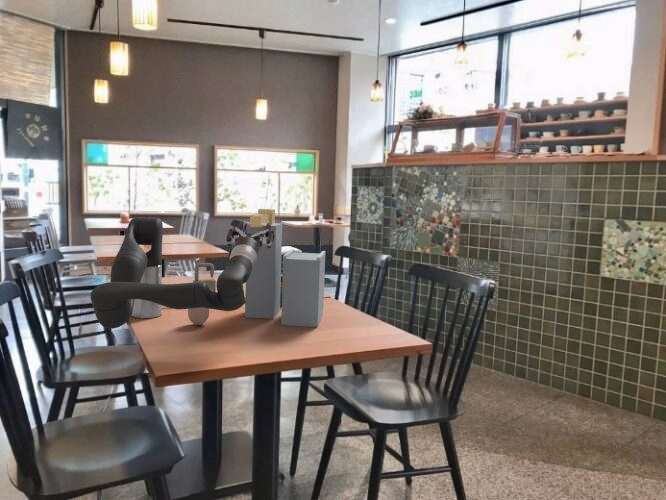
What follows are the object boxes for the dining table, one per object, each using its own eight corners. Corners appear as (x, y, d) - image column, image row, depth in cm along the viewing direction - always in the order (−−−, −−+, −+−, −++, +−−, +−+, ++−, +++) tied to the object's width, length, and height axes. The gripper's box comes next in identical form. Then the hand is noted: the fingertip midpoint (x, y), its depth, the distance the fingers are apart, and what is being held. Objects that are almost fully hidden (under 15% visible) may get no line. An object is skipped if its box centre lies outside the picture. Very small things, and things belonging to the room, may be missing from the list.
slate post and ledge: (317, 327, 178) (321, 229, 174) (239, 322, 180) (241, 226, 176) (323, 313, 197) (326, 225, 194) (252, 309, 199) (254, 222, 196)
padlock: (216, 301, 210) (216, 263, 208) (195, 303, 206) (195, 264, 204) (212, 299, 214) (213, 261, 212) (192, 301, 210) (192, 262, 208)
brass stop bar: (263, 227, 174) (263, 211, 174) (247, 226, 175) (248, 211, 174) (274, 223, 194) (275, 209, 194) (260, 222, 195) (261, 208, 194)
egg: (188, 328, 171) (188, 299, 170) (187, 322, 178) (187, 295, 177) (209, 327, 173) (209, 299, 172) (208, 322, 179) (208, 294, 178)
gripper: (266, 246, 159) (276, 216, 172) (218, 244, 160) (231, 214, 173) (268, 266, 163) (277, 235, 176) (222, 264, 164) (234, 233, 177)
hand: (255, 225), depth 174 cm, fingers open, 8 cm apart
